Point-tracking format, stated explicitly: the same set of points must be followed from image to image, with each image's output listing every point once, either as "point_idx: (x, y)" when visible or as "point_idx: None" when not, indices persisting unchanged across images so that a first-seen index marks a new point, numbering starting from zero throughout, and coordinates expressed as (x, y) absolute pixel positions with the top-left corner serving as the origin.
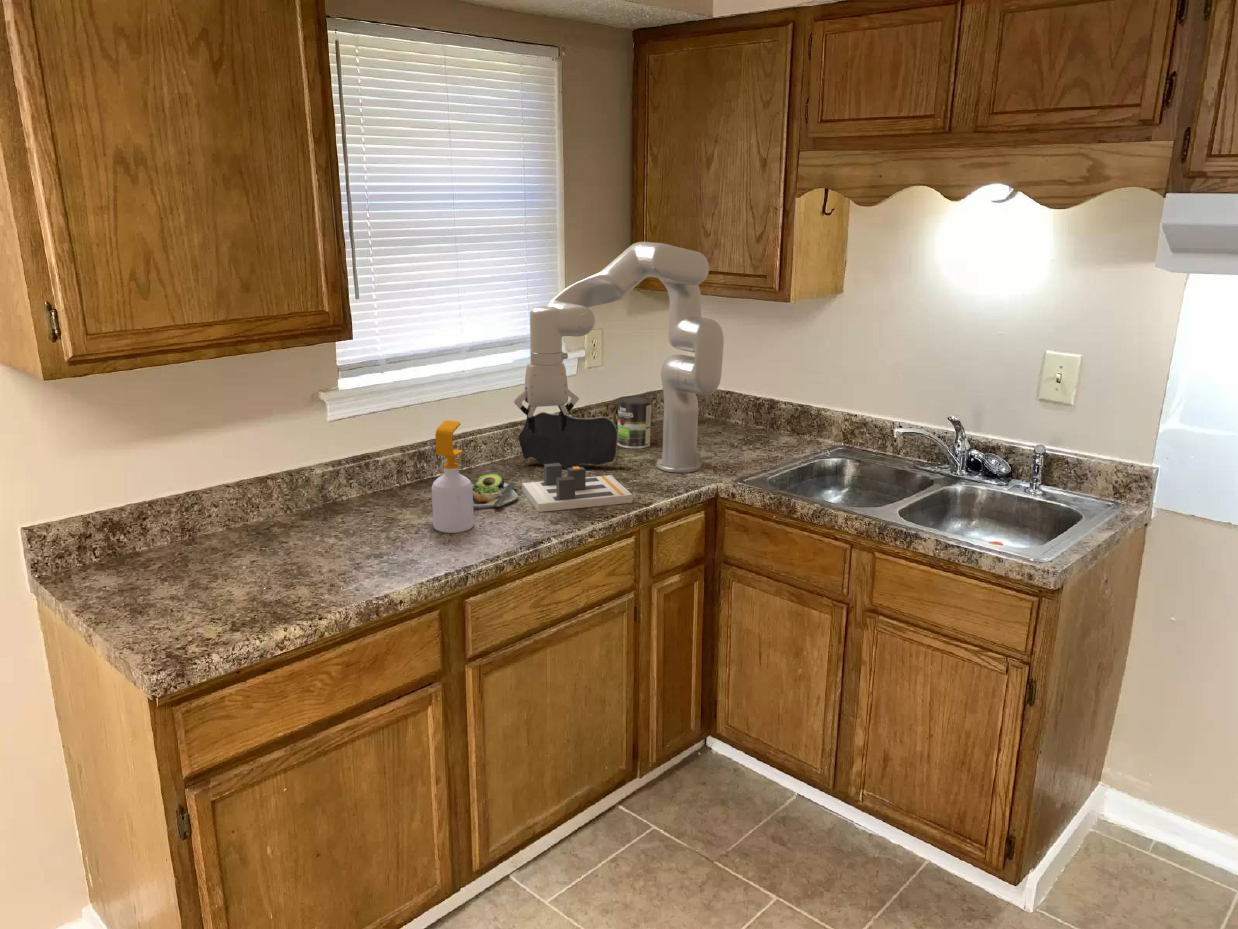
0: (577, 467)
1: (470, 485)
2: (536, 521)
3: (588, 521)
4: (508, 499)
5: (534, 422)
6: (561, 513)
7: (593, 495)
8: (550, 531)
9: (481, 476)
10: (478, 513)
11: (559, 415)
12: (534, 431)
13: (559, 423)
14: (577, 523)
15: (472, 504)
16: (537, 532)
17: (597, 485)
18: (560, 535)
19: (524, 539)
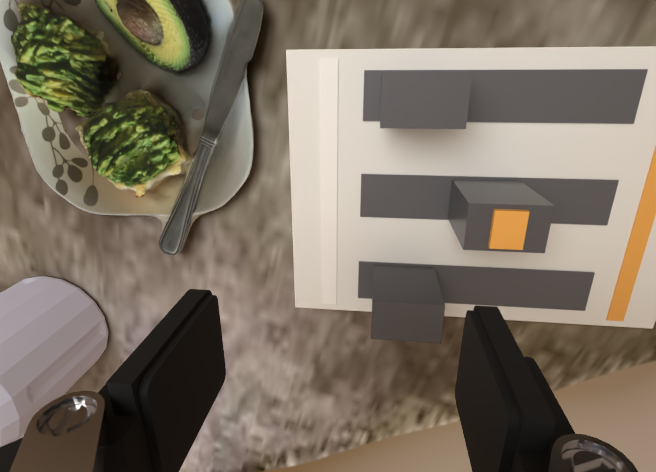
0: (516, 228)
1: (8, 440)
2: (277, 356)
3: (416, 402)
4: (213, 200)
5: (185, 451)
6: (364, 325)
7: (507, 294)
8: (297, 425)
9: None
10: (122, 246)
11: (496, 441)
12: (218, 384)
13: (475, 365)
14: (381, 404)
15: (64, 385)
16: (264, 419)
17: (587, 188)
18: (314, 452)
19: (226, 443)
